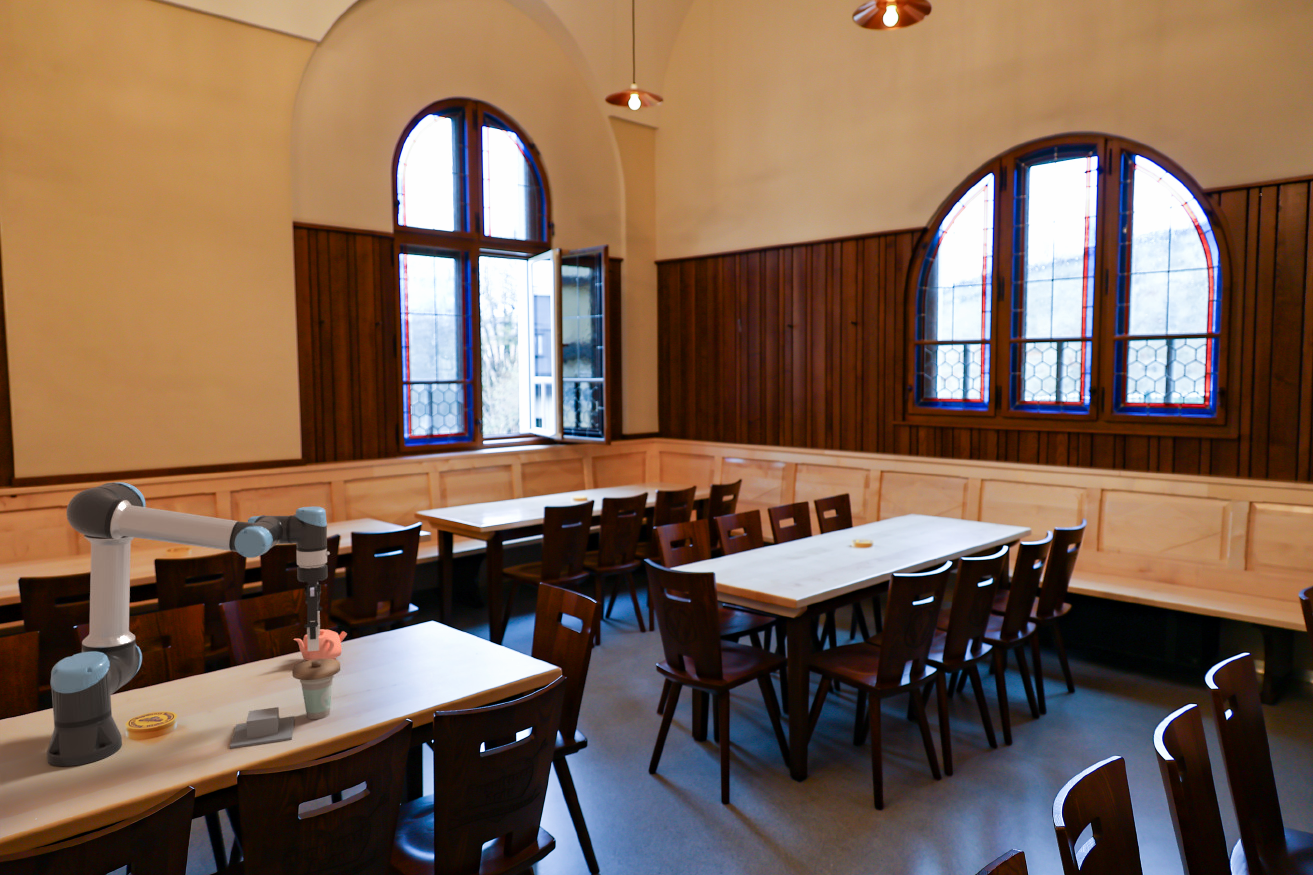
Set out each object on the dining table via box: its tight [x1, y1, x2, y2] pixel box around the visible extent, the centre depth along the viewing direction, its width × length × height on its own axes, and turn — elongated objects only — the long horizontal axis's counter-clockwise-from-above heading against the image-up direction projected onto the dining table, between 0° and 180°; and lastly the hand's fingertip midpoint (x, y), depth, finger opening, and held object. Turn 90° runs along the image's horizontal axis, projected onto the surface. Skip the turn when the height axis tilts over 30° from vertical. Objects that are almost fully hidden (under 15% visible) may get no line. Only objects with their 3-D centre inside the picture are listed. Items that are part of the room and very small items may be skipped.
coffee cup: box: [299, 675, 335, 720], centre depth 226 cm, size 8×8×12 cm
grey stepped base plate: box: [229, 706, 295, 750], centre depth 215 cm, size 14×14×5 cm
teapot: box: [293, 628, 348, 661], centre depth 269 cm, size 14×12×10 cm
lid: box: [291, 659, 341, 681], centre depth 225 cm, size 12×12×3 cm
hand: (314, 642), depth 225 cm, fingers open, 13 cm apart
